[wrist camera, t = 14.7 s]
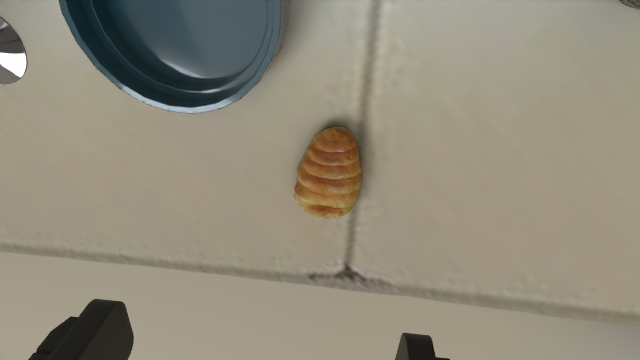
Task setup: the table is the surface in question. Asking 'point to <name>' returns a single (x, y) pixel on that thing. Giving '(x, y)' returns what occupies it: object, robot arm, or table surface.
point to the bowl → (180, 47)
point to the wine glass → (11, 55)
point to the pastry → (329, 174)
